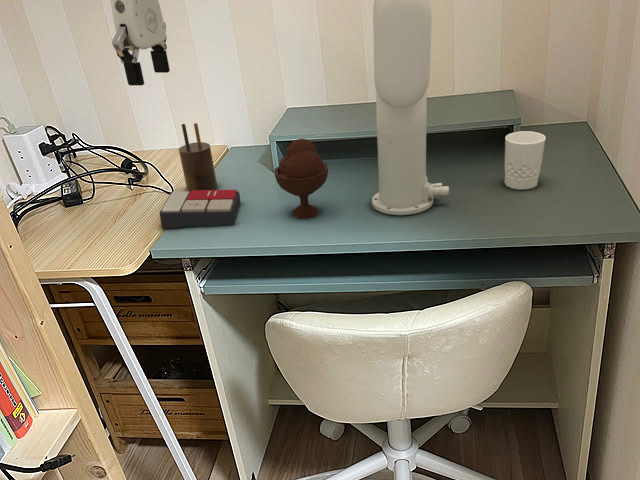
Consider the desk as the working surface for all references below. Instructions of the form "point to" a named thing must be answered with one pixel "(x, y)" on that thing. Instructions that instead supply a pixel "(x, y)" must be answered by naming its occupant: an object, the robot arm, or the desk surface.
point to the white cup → (523, 159)
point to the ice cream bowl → (302, 174)
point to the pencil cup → (197, 163)
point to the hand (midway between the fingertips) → (149, 78)
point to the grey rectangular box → (200, 208)
